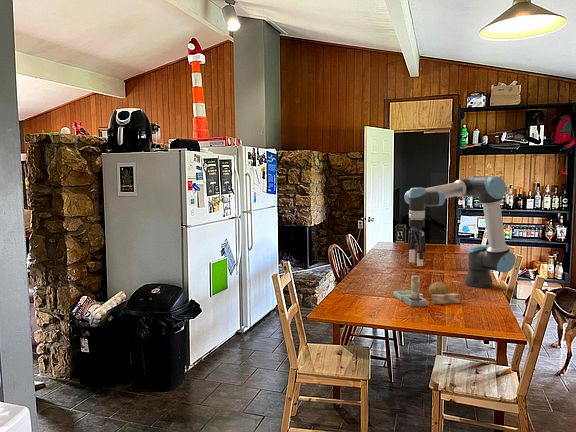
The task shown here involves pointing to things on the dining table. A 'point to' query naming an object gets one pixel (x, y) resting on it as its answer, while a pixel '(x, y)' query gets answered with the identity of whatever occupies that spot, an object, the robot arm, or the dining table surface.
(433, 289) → the potato
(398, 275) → the dining table surface
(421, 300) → the collar
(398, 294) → the tray
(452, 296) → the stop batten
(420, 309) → the dining table surface
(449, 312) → the dining table surface
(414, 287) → the dowel
